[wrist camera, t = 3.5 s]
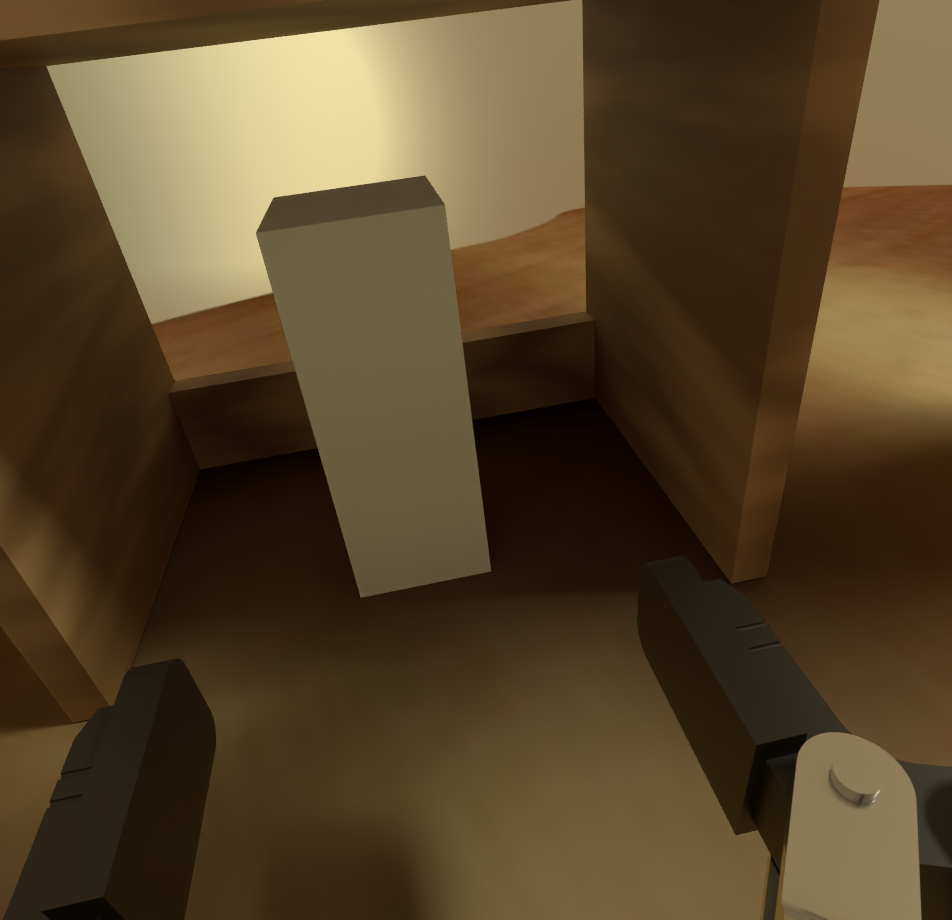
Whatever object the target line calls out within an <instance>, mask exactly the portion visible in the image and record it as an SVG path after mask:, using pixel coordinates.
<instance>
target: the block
mask: <svg viewBox="0 0 952 920" xmlns="http://www.w3.org/2000/svg"><path fill="white" fill-rule="evenodd" d="M256 235H257V239H258V242H259V246H260V249H261V253H262V256H263V259H264V263H265V266H266V270H267V273H268V277H269V280H270V283H271V287H272V290H273V294H274V298H275V301H276V305H277V308H278V312H279V315H280V319H281V322H282V326H283V329H284V332H285V336H286V339H287V343H288V346H289V350H290V353H291V357H292V360H293V364H294V367H295V371H296V374H297V378H298V381H299V385H300V388H301V392H302V395H303V398H304V402H305V405H306V409H307V412H308V416H309V419H310V423H311V426H312V430H313V433H314V437H315V440H316V444H317V447H318V451H319V454H320V458H321V461H322V464H323V468H324V471H325V475H326V478H327V482H328V485H329V489H330V492H331V496H332V499H333V503H334V506H335V510H336V513H337V517H338V520H339V524H340V527H341V530H342V534H343V537H344V541H345V544H346V548H347V551H348V555H349V558H350V562H351V565H352V569H353V572H354V576H355V579H356V583H357V586H358V590H359V593H360V597H361V598H362V597H367V596H372V595H377V594H382V593H387V592H392V591H397V590H402V589H407V588H411V587H416V586H421V585H426V584H431V583H436V582H441V581H446V580H451V579H456V578H461V577H466V576H471V575H476V574H481V573H486V572H491V565H490V558H489V550H488V542H487V534H486V526H485V518H484V510H483V502H482V495H481V487H480V479H479V471H478V463H477V455H476V447H475V439H474V431H473V424H472V416H471V408H470V400H469V392H468V384H467V376H466V368H465V361H464V353H463V345H462V337H461V329H460V321H459V313H458V305H457V297H456V290H455V282H454V274H453V266H452V258H451V250H450V242H449V234H448V227H447V219H446V211H445V204H444V203H443V201H442V200H441V198H440V197H439V196H438V194H437V193H436V191H435V190H434V188H433V187H432V185H431V184H430V182H429V181H428V179H427V178H426V176H419V177H412V178H405V179H399V180H392V181H385V182H379V183H371V184H364V185H357V186H351V187H344V188H337V189H330V190H323V191H316V192H309V193H303V194H296V195H289V196H282V197H275V198H273V200H272V202H271V204H270V206H269V208H268V210H267V212H266V214H265V216H264V218H263V220H262V222H261V224H260V226H259V228H258V230H257V232H256Z"/></svg>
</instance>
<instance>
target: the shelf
mask: <svg viewBox="0 0 952 920" xmlns="http://www.w3.org/2000/svg"><path fill="white" fill-rule="evenodd" d="M561 1H569V0H0V627H1V628H2V629H3V631H4V632H5V633H6V635H7V636H8V637H9V639H10V640H11V641H12V643H13V644H14V645H15V647H16V648H17V649H18V651H19V652H20V653H21V655H22V656H23V657H24V659H25V660H26V661H27V663H28V664H29V665H30V667H31V668H32V669H33V671H34V672H35V673H36V675H37V676H38V677H39V679H40V680H41V681H42V683H43V684H44V685H45V687H46V688H47V689H48V691H49V692H50V693H51V695H52V696H53V697H54V699H55V700H56V701H57V703H58V704H59V705H60V707H61V708H62V709H63V711H64V712H65V713H66V715H67V716H68V717H69V719H70V720H71V721H72V723H75V722H79V721H84V720H89V719H90V718H91V717H92V716H93V715H94V713H95V712H96V711H97V710H98V708H102V707H107V706H112V705H114V703H115V700H116V697H117V695H118V692H119V689H120V686H121V683H122V680H123V678H124V676H125V674H126V672H127V671H128V670H129V669H131V667H132V664H133V661H134V658H135V656H136V653H137V650H138V647H139V644H140V641H141V638H142V636H143V633H144V630H145V627H146V624H147V621H148V618H149V615H150V613H151V610H152V607H153V604H154V601H155V598H156V595H157V592H158V590H159V587H160V584H161V581H162V578H163V575H164V572H165V569H166V567H167V564H168V561H169V558H170V555H171V552H172V549H173V546H174V544H175V541H176V538H177V535H178V532H179V529H180V526H181V524H182V521H183V518H184V515H185V512H186V509H187V506H188V503H189V501H190V498H191V495H192V492H193V489H194V486H195V483H196V480H197V478H198V475H199V472H200V469H206V468H211V467H217V466H222V465H228V464H233V463H239V462H244V461H250V460H255V459H261V458H266V457H272V456H277V455H283V454H289V453H294V452H300V451H305V450H311V449H316V448H318V447H317V444H316V440H315V437H314V433H313V430H312V426H311V423H310V419H309V416H308V412H307V409H306V405H305V402H304V398H303V395H302V392H301V388H300V385H299V381H298V378H297V374H296V371H295V367H294V364H293V361H290V362H284V363H278V364H272V365H267V366H261V367H255V368H249V369H243V370H237V371H231V372H225V373H219V374H213V375H207V376H201V377H196V378H190V379H184V380H178V381H174V379H173V376H172V374H171V371H170V369H169V366H168V364H167V361H166V359H165V357H164V354H163V352H162V349H161V347H160V344H159V342H158V339H157V337H156V334H155V332H154V330H153V327H152V325H151V322H150V320H149V317H148V315H147V312H146V310H145V308H144V305H143V303H142V300H141V298H140V295H139V293H138V291H137V288H136V286H135V283H134V280H133V278H132V276H131V273H130V271H129V269H128V266H127V263H126V261H125V258H124V256H123V254H122V251H121V249H120V246H119V244H118V241H117V239H116V237H115V234H114V231H113V229H112V226H111V224H110V222H109V219H108V217H107V214H106V212H105V209H104V207H103V204H102V202H101V200H100V197H99V195H98V192H97V190H96V187H95V185H94V182H93V180H92V177H91V175H90V173H89V171H88V168H87V165H86V163H85V160H84V158H83V155H82V153H81V150H80V148H79V146H78V143H77V141H76V138H75V136H74V133H73V131H72V129H71V126H70V124H69V121H68V119H67V116H66V114H65V111H64V109H63V106H62V104H61V101H60V99H59V97H58V94H57V92H56V89H55V87H54V84H53V82H52V80H51V77H50V74H49V72H48V69H47V67H46V66H50V65H58V64H66V63H74V62H81V61H90V60H98V59H106V58H114V57H122V56H130V55H138V54H146V53H154V52H162V51H170V50H178V49H185V48H194V47H202V46H210V45H218V44H226V43H234V42H242V41H249V40H258V39H265V38H274V37H282V36H289V35H298V34H306V33H314V32H321V31H330V30H338V29H345V28H353V27H361V26H370V25H377V24H385V23H393V22H401V21H408V20H417V19H425V18H433V17H441V16H449V15H457V14H465V13H473V12H481V11H489V10H497V9H505V8H513V7H521V6H529V5H537V4H544V3H553V2H561ZM582 1H583V2H582V4H583V80H584V154H585V155H584V156H585V157H584V160H585V239H586V312H580V313H574V314H568V315H562V316H556V317H551V318H545V319H539V320H533V321H527V322H521V323H515V324H509V325H503V326H497V327H491V328H485V329H480V330H474V331H468V332H462V333H461V337H462V345H463V353H464V361H465V368H466V376H467V384H468V392H469V400H470V408H471V416H472V420H476V419H482V418H487V417H493V416H498V415H504V414H509V413H515V412H520V411H526V410H531V409H537V408H542V407H548V406H553V405H559V404H564V403H570V402H575V401H581V400H586V399H592V398H596V400H597V401H598V402H599V404H600V405H601V407H602V408H603V409H604V411H605V412H606V413H607V415H608V416H609V417H610V419H611V420H612V422H613V423H614V424H615V426H616V427H617V428H618V430H619V431H620V432H621V434H622V435H623V437H624V438H625V439H626V441H627V442H628V443H629V445H630V446H631V448H632V449H633V450H634V452H635V453H636V454H637V456H638V457H639V458H640V460H641V461H642V463H643V464H644V465H645V467H646V468H647V469H648V471H649V472H650V473H651V475H652V476H653V478H654V479H655V480H656V482H657V483H658V484H659V486H660V487H661V488H662V490H663V491H664V493H665V494H666V495H667V497H668V498H669V499H670V501H671V502H672V503H673V505H674V506H675V508H676V509H677V510H678V512H679V513H680V514H681V516H682V517H683V519H684V520H685V521H686V523H687V524H688V525H689V527H690V528H691V529H692V531H693V532H694V534H695V535H696V536H697V538H698V539H699V540H700V542H701V543H702V544H703V546H704V547H705V549H706V550H707V551H708V553H709V554H710V555H711V557H712V558H713V559H714V561H715V562H716V564H717V565H718V566H719V568H720V569H721V570H722V572H723V573H724V574H725V576H726V577H727V579H728V580H729V581H730V583H731V584H732V583H737V582H742V581H747V580H751V579H756V578H761V577H766V576H767V573H768V568H769V563H770V558H771V553H772V547H773V542H774V537H775V532H776V527H777V522H778V517H779V512H780V506H781V501H782V496H783V491H784V486H785V481H786V476H787V471H788V466H789V460H790V455H791V450H792V445H793V440H794V435H795V430H796V425H797V419H798V414H799V409H800V404H801V399H802V394H803V389H804V384H805V378H806V373H807V368H808V363H809V358H810V353H811V348H812V343H813V338H814V332H815V327H816V322H817V317H818V312H819V307H820V302H821V297H822V291H823V286H824V281H825V276H826V271H827V266H828V261H829V256H830V250H831V245H832V240H833V235H834V230H835V225H836V220H837V215H838V210H839V204H840V199H841V194H842V189H843V183H844V179H845V174H846V169H847V163H848V158H849V153H850V148H851V143H852V138H853V133H854V128H855V123H856V117H857V112H858V107H859V102H860V97H861V92H862V86H863V82H864V76H865V71H866V66H867V61H868V56H869V50H870V45H871V40H872V35H873V30H874V24H875V20H876V15H877V10H878V4H879V0H582Z"/></svg>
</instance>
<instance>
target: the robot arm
mask: <svg viewBox="0 0 952 920" xmlns="http://www.w3.org/2000/svg"><path fill="white" fill-rule="evenodd" d="M637 625H638V633H639V637H640V641H641V645H642V648H643V651H644V653H645V656H646V658H647V660H648V662H649V664H650V666H651V668H652V670H653V672H654V674H655V676H656V678H657V680H658V682H659V684H660V686H661V688H662V690H663V692H664V694H665V696H666V698H667V700H668V702H669V704H670V705H671V707H672V709H673V711H674V713H675V715H676V717H677V719H678V721H679V723H680V725H681V727H682V729H683V731H684V733H685V735H686V737H687V739H688V741H689V743H690V745H691V747H692V749H693V751H694V753H695V755H696V757H697V759H698V761H699V763H700V765H701V767H702V769H703V771H704V773H705V775H706V777H707V779H708V781H709V783H710V785H711V787H712V789H713V791H714V793H715V795H716V797H717V799H718V801H719V803H720V805H721V807H722V809H723V811H724V813H725V815H726V817H727V819H728V821H729V823H730V825H731V827H732V829H733V831H734V833H735V835H739V834H743V833H747V832H751V831H755V830H758V831H759V833H760V835H761V837H762V839H763V840H764V842H765V844H766V846H767V848H768V850H769V856H768V861H767V869H766V876H765V884H764V892H763V899H762V907H761V915H760V920H952V767H945V766H935V765H924V764H915V763H908V762H904V761H900V760H897V759H894V758H893V757H892V756H891V755H889V754H888V753H887V752H886V751H885V750H883V749H882V748H880V747H879V746H877V745H876V744H874V743H872V742H870V741H868V740H866V739H863V738H861V737H858V736H855V735H852V734H851V733H850V732H849V731H848V730H847V729H846V728H845V727H844V726H843V725H842V723H841V722H840V721H839V720H838V718H837V717H836V716H835V714H834V713H833V712H832V710H831V709H830V708H829V706H828V705H827V704H826V702H825V701H824V700H823V698H822V697H821V696H820V694H819V693H818V692H817V690H816V689H815V688H814V686H813V685H812V684H811V682H810V681H809V680H808V678H807V677H806V676H805V674H804V673H803V671H802V670H801V669H800V667H799V666H798V665H797V663H796V662H795V661H794V659H793V658H792V657H791V655H790V654H789V653H788V651H787V650H786V649H785V647H784V646H781V645H780V641H779V639H778V638H777V637H776V635H775V634H774V633H773V631H772V630H771V629H770V627H769V626H766V624H765V620H764V619H763V618H762V616H761V615H760V614H759V612H758V611H757V610H756V608H755V607H754V606H753V604H752V603H751V602H750V600H749V599H748V598H747V597H746V596H745V595H743V594H742V593H741V592H739V591H738V590H736V589H735V588H733V587H732V586H730V585H729V584H728V583H726V582H725V581H723V580H722V579H715V580H711V581H706V582H704V581H703V579H702V578H701V576H700V575H699V573H698V572H697V570H696V569H695V568H694V566H693V565H692V563H691V562H690V561H689V559H688V558H687V557H685V556H677V557H672V558H668V559H663V560H658V561H653V562H648V563H643V564H642V565H641V567H640V573H639V595H638V617H637ZM215 748H216V730H215V723H214V719H213V716H212V713H211V711H210V709H209V707H208V705H207V703H206V702H205V700H204V698H203V696H202V694H201V692H200V691H199V689H198V687H197V685H196V683H195V682H194V680H193V678H192V676H191V674H190V672H189V671H188V669H187V667H186V665H185V664H184V662H183V661H182V660H180V659H173V660H168V661H163V662H158V663H153V664H148V665H144V666H139V667H134V668H131V669H129V670H128V671H127V672H126V674H125V676H124V678H123V680H122V683H121V686H120V689H119V692H118V695H117V697H116V700H115V703H114V705H112V706H107V707H102V708H98V710H97V711H96V712H95V713H94V715H93V716H92V717H91V718H90V720H89V721H88V722H87V724H86V725H85V726H84V727H83V729H82V730H81V731H80V733H79V734H78V735H77V736H76V738H75V739H74V741H73V743H72V746H71V748H70V751H69V753H68V756H67V759H66V761H65V764H64V766H63V769H62V771H61V779H60V780H58V781H57V784H56V787H55V789H54V792H53V794H52V797H51V799H50V803H51V805H50V808H47V809H46V812H45V815H44V817H43V820H42V822H41V825H40V827H39V830H38V832H37V835H36V837H35V840H34V842H33V845H32V848H31V850H30V853H29V855H28V858H27V860H26V863H25V865H24V868H23V870H22V873H21V876H20V878H19V881H18V883H17V886H16V888H15V891H14V893H13V896H12V898H11V901H10V904H9V906H8V909H7V911H6V914H5V916H4V918H3V920H184V917H185V912H186V906H187V901H188V896H189V890H190V885H191V879H192V874H193V868H194V863H195V857H196V852H197V847H198V841H199V836H200V830H201V825H202V819H203V814H204V809H205V803H206V798H207V792H208V787H209V781H210V776H211V771H212V765H213V760H214V754H215Z"/></svg>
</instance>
